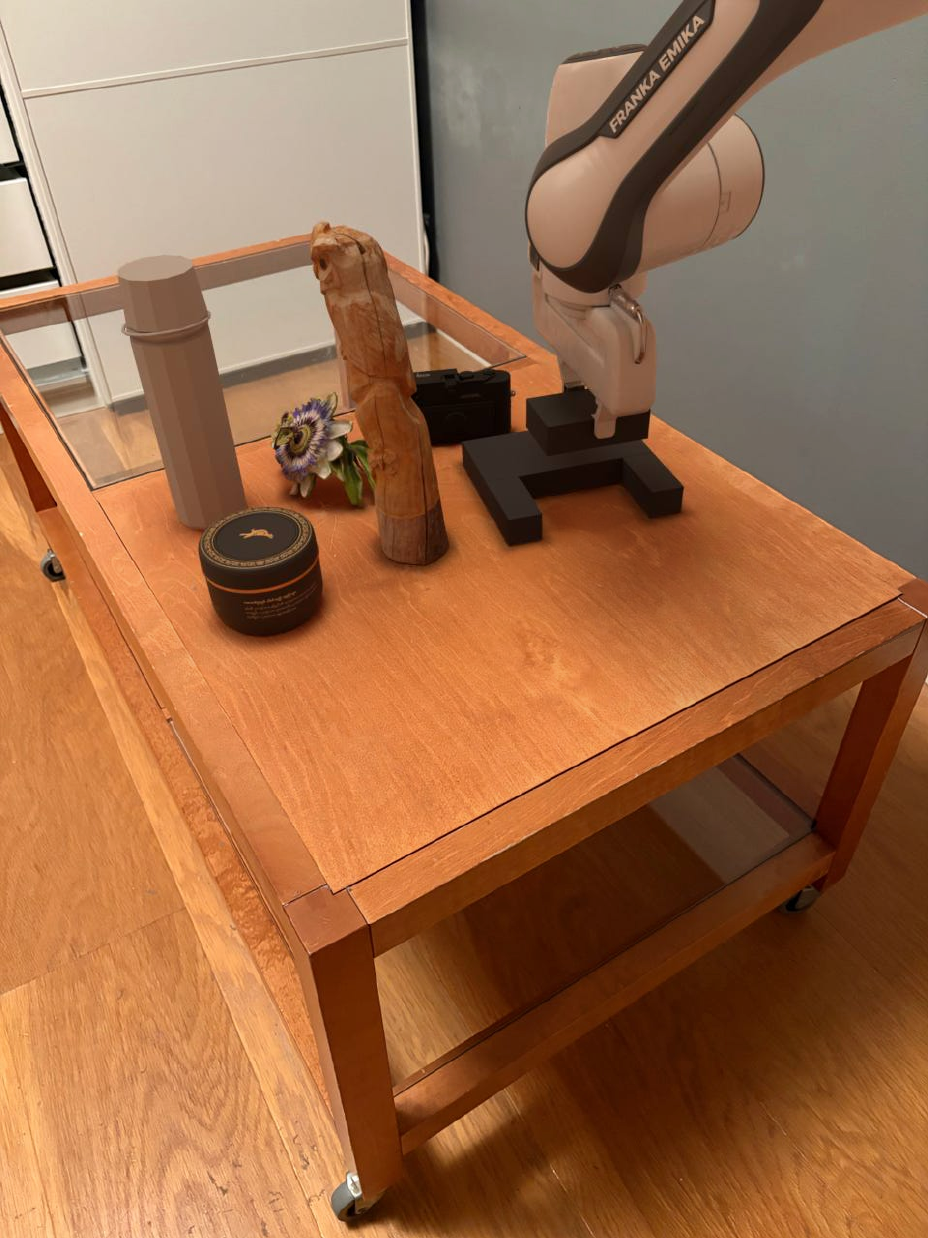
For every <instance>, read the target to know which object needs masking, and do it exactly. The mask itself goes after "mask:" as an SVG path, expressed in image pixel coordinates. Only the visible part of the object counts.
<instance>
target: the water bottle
mask: <svg viewBox="0 0 928 1238" xmlns="http://www.w3.org/2000/svg"><path fill="white" fill-rule="evenodd" d="M116 270H117V271H116V272H117V280H118V281H117V282H118V285H119V292H120V299H121V304H122V310H123V315H124V321H125V322H124V323H123V324H122V325H121V327H120V332H121V333H122V334H124V335H125V336H128V337H129V343H130V346H131V350H132V353H133V357H134V361H135V365H136V369H137V371H138V375H139V380H140V383H141V387H142V391H143V394H144V398H145V402H146V405H147V409H148V412H149V417H150V419H151V424H152V427H153V430H154V434H155V438H156V442H157V445H158V449H159V453H160V457H161V461H162V464H163V468H164V472H165V475H166V479H167V482H168V486H169V490H170V494H171V497H172V500H173V504H174V508H175V509H174V510H175V512H176V515H177V520H178V521H179V522H181V523H182V524H184V525H185V526H187V527H188V528H190V529H192V530H197V531H198V530H199V531H206V529H207V528H208V527H209V526H211V525H212V524H213V523H214V522H216V521H217V520H219V519H221V518H222V517H224V516H226V515H229V514H231V513H234V512H237V511H240V510H244V509H248V504H247V498H246V494H245V488H244V484H243V480H242V475H241V470H240V466H239V460H238V456H237V451H236V447H235V441H234V437H233V433H232V429H231V428H232V427H231V423H230V419H229V415H228V409H227V405H226V401H225V395H224V391H223V386H222V382H221V377H220V372H219V367H218V363H217V359H216V353H215V349H214V344H213V339H212V334H211V330H210V326H209V321H210V319H211V317H212V316H211V315H212V312H211V311H209V310H208V308H207V304H206V301H205V298H204V295H203V291H202V288H201V285H200V282H199V278H198V276H197V273H196V269H195V266H194V263H193V260H192V259H190V258H188V257H185V256H182V255H172V254H171V255H170V254H169V255H168V254H167V255H166V254H162V255H154V256H145V257H141V258H139V259H135V260H132V261H129V262H126V263H125V264H124V265H122V266H121V267H119V268H118V269H116Z"/></svg>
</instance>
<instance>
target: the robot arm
mask: <svg viewBox="0 0 928 1238" xmlns="http://www.w3.org/2000/svg"><path fill="white" fill-rule="evenodd" d="M677 6H678V7H677V8H676V9H675V10H674V12H673V13H672V14H671V15H670V16H669V18H667V20H666V22H665V23H664V24H663V26H662V27H661V28H660V30H658V32H657V33H656V34H655V36H654V37H653V39H652V40H651V41H650V42H649V44H648V45H647V44H643V43H632V44H625V45H624V44H623V45H618V46H617V45H616V46H612V47H607V48H600V49H594V50H590V51H585V52H577V53H575V54H573V55H570V56H569V57H567V58H566V59H565V60H564V61H563V62H561V63H560V64H559V65H558V67H557V68H556V71H555V74H554V76H553V80H552V83H551V88H550V93H549V98H548V104H547V113H546V125H545V138H544V151H543V152H542V154H541V155H540V158H539V159H538V161H537V163H536V165H535V168H534V170H533V172H532V175H531V177H530V181H529V184H528V188H527V193H526V197H525V203H524V204H525V205H524V225H525V231H526V235H527V238H528V241H527V261H528V263H529V264H530V265H531V266H532V269H531V271H532V272H531V291H532V292H531V293H532V312H533V313H532V314H533V319H534V323H535V327H536V331H537V332H538V334H539V336H540V337H542V339H543V340H544V341H545V342H546V343H547V344H548V345H549V347H550V348H551V349H552V350H553V351H554V352H555V354H556V355H557V356H556V361H557V365H558V369H559V375H560V379H561V393H563V392H569V391H575V390H582V389H587V388H588V389H589V390H590V391H591V392H592V393H593V395H594V396H595V397H596V404H597V405H598V408H597V411H596V414H593V415H591V431H592V432H593V433H594V434H595V436H596V437H597V438H599V439H602V438H608V437H611V436H613V435H614V433H615V423H616V419H617V417H622V416H629V415H635V414H640V413H644V412H647V411H648V410H649V409H651V408H652V407H653V405H654V403H655V400H656V391H657V390H656V388H657V365H658V364H657V363H658V352H657V351H658V350H657V345H658V344H657V336H656V331H655V327H654V324H653V323H652V322H651V320H650V319H649V318H648V317H647V316H645V315H644V307H643V305H642V304H641V302H639V301H638V300H637V298H639V297H640V296H642V295H643V294H644V293H645V291H646V289H647V285H648V284H647V282H648V274H649V273H648V272H649V271H651V270H654V269H655V270H656V269H658V268H660V267H664V266H667V265H670V264H672V263H675V262H678V261H681V260H685V259H686V258H687V259H688V258H689V257H691V256H694V255H697V254H701V253H703V252H706V251H709V250H711V249H712V250H713V249H715V248H718V246H719V247H720V246H723V245H725V244H726V243H727V242H729V241H732V240H734V239H736V238H738V237H740V236H741V235H742V234H743V233H744V232H746V230H747V229H748V228H749V227H750V226H751V224H752V223H753V221H754V220H755V217H756V216H757V214H758V211H759V208H760V206H761V203H762V200H763V195H764V190H765V183H766V167H765V158H764V154H763V153H764V152H763V150H762V147H761V145H760V142H759V140H758V137H757V135H756V134H755V132H754V131H753V128H751V126H750V125H749V124H748V123H747V122H746V121H745V120H744V118H742V117H741V116H740V115H738V114H736V113H737V112H738V110H740V109H741V108H742V107H743V106H744V105H745V104H746V103H747V102H748V101H749V100H750V99H751V98H752V97H754V96H755V95H756V94H757V93H759V92H760V91H761V90H763V88H765V87H767V86H768V85H769V84H770V83H772V82H774V81H776V79H778V78H780V77H781V76H783V75H785V74H787V73H788V72H790V71H791V70H793V69H795V68H797V67H799V66H801V65H803V64H805V63H806V62H809V61H810V60H812V59H814V58H815V59H816V57H819V56H821V55H824V54H826V53H828V52H830V51H833V50H835V49H838V48H839V47H842V46H845V45H847V44H850V43H852V42H855V41H858V40H860V39H863V38H866V37H868V36H872V35H873V34H876V33H879V32H882V31H885V30H888V29H890V28H893V27H895V26H898V25H901V24H904V23H906V22H908V21H909V22H910V21H912V20H914V19H917V18H919V17H922V16H924V15H926V14H928V0H682V1H681V3H680V4H679V5H677Z"/></svg>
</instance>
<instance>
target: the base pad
mask: <svg viewBox="0 0 928 1238" xmlns="http://www.w3.org/2000/svg"><path fill="white" fill-rule="evenodd" d="M461 451H462V452H461V453H462V454H461V455H462V467H463V468H464V471H465V472H466V474H467V476H468V477H469V479H470V481H471V483H472V484H473V486H474V488H475V489H476V491H477V494H478V495H479V497H480V498H481V500H482V502H483V503H484V505H485V507H486V509H487V511H488V512H489V515H490V516H491V517H492V519H493V521H494V523H495V525H496V526H497V528H498V530H499V532H500V533H501V535H502V536H503V538H504V540H505V542H506V543H507V546H508V547H511V546H517V545H522V544H527V543H532V542H537V541H540V540H543V519H544V517H543V512H542V511H541V509H540V507H539V506H538V504H537V503H536V501H535V499H540V498H545V497H551V496H556V495H560V494H566V493H572V492H578V491H581V490H589V489H593V488H598V487H604V486H610V485H615V484H621V485H622V487H624V489H625V490H626V492H627V493H628V494H629V495H630V496H631V498H632V499H633V500H634V501H635V502H636V503H637V505H638V506H639V508H640V509H642V511H643V512H644V514H646V516H647V517H648V518H649V519H654V518H659V517H664V516H669V515H674V514H675V515H676V514H679V513H682V508H683V507H682V506H683V499H684V492H685V486H684V485H683V484H682V483H681V481H680V480H679V479H678V477H676V476H675V474H673V472H672V471H670V470H669V468H668V467H667V466H666V464H664V463H663V461H661V459H660V458H659V457H658V456H657V454H656V453H654V452H653V451H652V449H651V448H650V447H649V446H648V445H647V444H646V443H645V442H644V440H643V439H642V440H637V441H631V442H625V443H620V444H614V445H608V446H603V447H597V448H592V449H586V450H580V451H575V452H569V453H563V454H558V455H552V456H547V455H546V454H545V453H544V451H543V450H542V449H541V447H540V446H539V444H538V443H537V442H536V440H535V439H534V437H533V436H532V435H531V433H530V432H529V431H528V429H527V430H522V431H517V432H516V431H515V432H511V433H510V434H504V435H498V436H493V437H487V438H481V439H475V440H469V441H463V442H462V443H461Z"/></svg>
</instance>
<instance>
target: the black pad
mask: <svg viewBox="0 0 928 1238" xmlns="http://www.w3.org/2000/svg"><path fill="white" fill-rule="evenodd" d="M597 408H598V405H597V404H596V397H595V396H594V395H593V393H592V392H591V391H590V390H589V389H588V388H587V387H586V388H585V389H582V390H575V391H569V392H563V393H562V392H558V393H551V394H546V395H545V394H544V395H539V396H533V397H526V398H525V428H526V429H527V430H528V431H529V432H530V433H531V435H532V436H533V437H534V439H535V440H536V442H537V443H538V444H539V446H540V447H541V449H542V450H543V451H544V453H545V454H546V455H547V456H552V455H558V454H563V453H569V452H575V451H580V450H586V449H592V448H597V447H603V446H608V445H614V444H620V443H625V442H631V441H637V440H642V441H643V440H646V439H649V433H650V422H651V413H652V412H651V411H652V410H651V408H650V409H649V410H648V411H647V412H644V413H640V414H635V415H629V416H622V417H617V419H616V423H615V433H614V435H613V436H611V437H608V438H602V439H599V438H597V437H596V436H595V434H594V433H593V432H592V431H591V415H593V414H596V411H597Z"/></svg>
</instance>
